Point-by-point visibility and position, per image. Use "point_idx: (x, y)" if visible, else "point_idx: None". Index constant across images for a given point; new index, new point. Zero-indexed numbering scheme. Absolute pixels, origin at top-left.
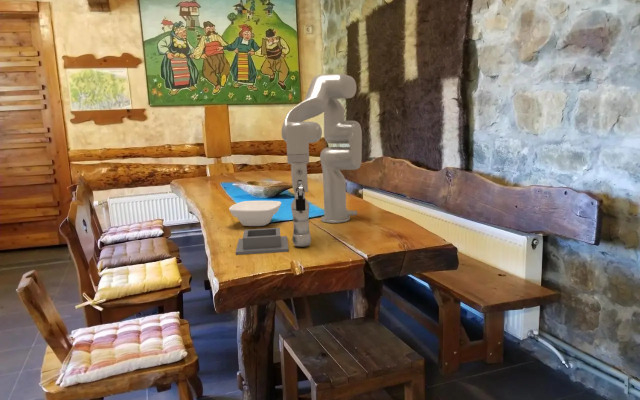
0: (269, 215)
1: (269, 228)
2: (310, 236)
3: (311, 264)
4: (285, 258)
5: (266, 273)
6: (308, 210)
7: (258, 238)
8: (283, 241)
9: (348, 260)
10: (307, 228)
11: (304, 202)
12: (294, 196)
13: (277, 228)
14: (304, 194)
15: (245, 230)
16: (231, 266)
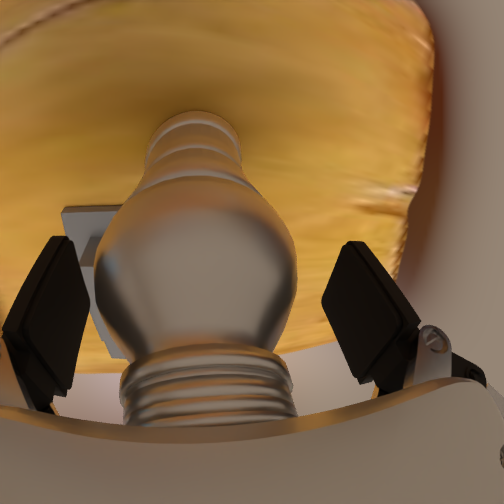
0: None
1: (91, 301)
2: (212, 118)
3: (408, 161)
4: (325, 222)
5: (397, 267)
6: (243, 181)
7: None
8: None
9: (424, 51)
10: (230, 147)
11: (396, 297)
12: (68, 380)
13: (90, 275)
14: (262, 376)
15: (120, 356)
16: (317, 328)
